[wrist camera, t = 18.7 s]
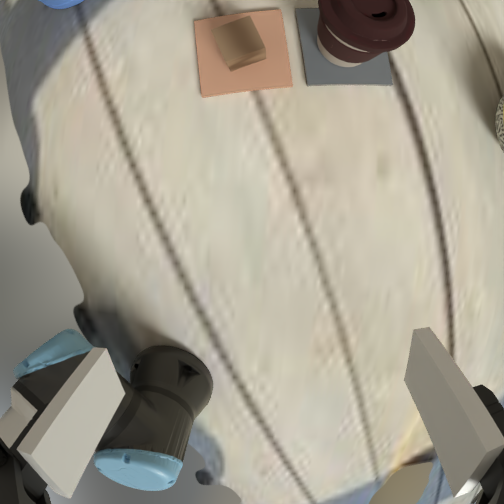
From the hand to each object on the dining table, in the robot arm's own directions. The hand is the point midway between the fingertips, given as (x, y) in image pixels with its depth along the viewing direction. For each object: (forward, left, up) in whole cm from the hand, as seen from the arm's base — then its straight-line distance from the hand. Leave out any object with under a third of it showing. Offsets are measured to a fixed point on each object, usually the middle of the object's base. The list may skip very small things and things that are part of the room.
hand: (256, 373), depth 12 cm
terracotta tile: (-1, +23, -33) cm, 40 cm away
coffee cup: (+13, +23, -32) cm, 41 cm away
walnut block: (-1, +23, -32) cm, 39 cm away
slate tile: (+13, +23, -33) cm, 42 cm away
